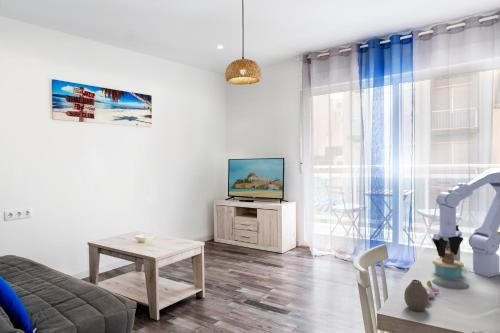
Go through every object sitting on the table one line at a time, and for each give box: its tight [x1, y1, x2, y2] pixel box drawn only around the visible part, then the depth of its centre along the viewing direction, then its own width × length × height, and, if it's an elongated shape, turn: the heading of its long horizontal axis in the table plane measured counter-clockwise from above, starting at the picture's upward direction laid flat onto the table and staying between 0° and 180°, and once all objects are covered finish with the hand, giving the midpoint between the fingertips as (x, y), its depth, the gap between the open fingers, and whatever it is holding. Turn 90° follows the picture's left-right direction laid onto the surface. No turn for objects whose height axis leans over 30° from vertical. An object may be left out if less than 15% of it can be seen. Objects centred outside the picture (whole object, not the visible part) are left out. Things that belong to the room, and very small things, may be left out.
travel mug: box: [439, 222, 461, 262], centre depth 156 cm, size 8×8×18 cm
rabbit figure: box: [424, 279, 441, 299], centre depth 116 cm, size 6×6×15 cm
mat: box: [431, 277, 470, 291], centre depth 127 cm, size 12×12×1 cm
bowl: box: [434, 264, 463, 279], centre depth 139 cm, size 9×9×4 cm
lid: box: [432, 251, 465, 268], centre depth 139 cm, size 11×11×5 cm
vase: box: [403, 279, 430, 312], centre depth 107 cm, size 7×7×9 cm
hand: (447, 255), depth 139 cm, fingers open, 7 cm apart
